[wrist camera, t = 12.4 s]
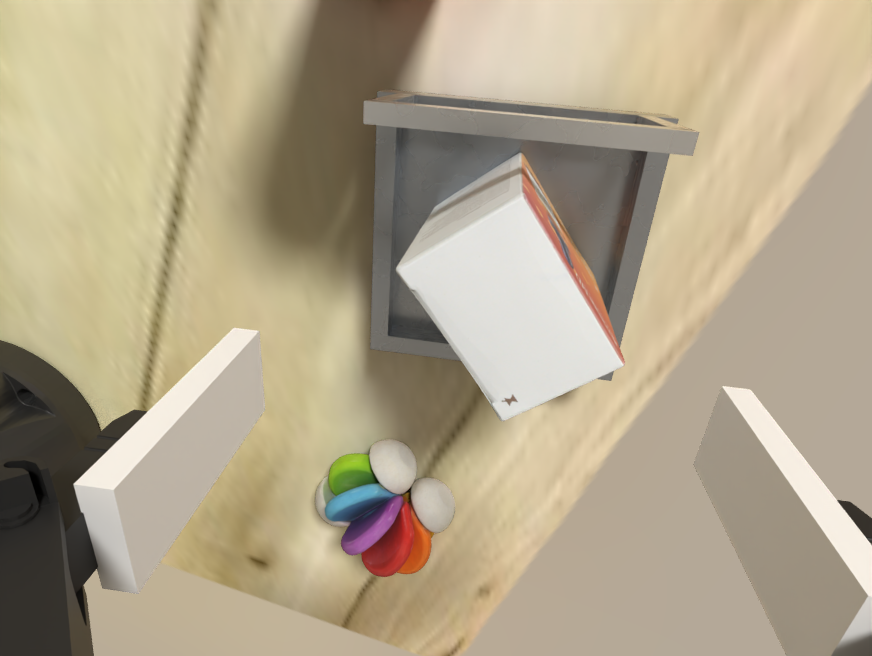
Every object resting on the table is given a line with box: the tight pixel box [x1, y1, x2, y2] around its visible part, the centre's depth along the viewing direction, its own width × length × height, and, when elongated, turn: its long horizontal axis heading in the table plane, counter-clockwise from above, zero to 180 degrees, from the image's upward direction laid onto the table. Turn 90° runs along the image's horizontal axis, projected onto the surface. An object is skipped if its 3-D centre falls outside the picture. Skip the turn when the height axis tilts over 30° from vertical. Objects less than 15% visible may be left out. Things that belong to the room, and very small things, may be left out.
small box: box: [396, 153, 625, 421], centre depth 25 cm, size 8×6×10 cm
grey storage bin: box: [363, 89, 699, 381], centre depth 27 cm, size 14×14×10 cm
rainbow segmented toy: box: [315, 439, 455, 577], centre depth 39 cm, size 8×10×7 cm
